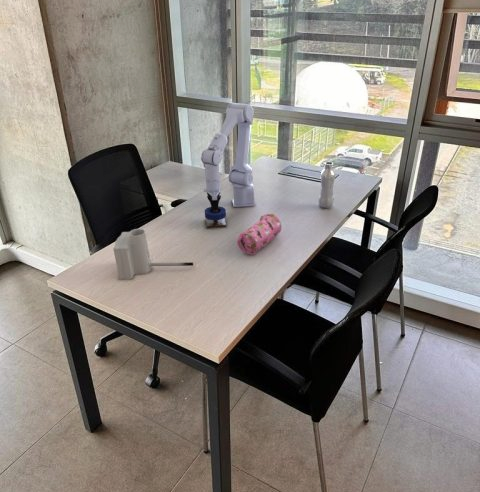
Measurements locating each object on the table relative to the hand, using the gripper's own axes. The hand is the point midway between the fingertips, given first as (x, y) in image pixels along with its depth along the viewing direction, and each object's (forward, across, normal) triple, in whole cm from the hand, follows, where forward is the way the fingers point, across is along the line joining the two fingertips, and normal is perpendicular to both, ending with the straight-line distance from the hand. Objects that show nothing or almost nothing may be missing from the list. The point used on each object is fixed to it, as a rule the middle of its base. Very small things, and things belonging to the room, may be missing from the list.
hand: (214, 209), depth 193 cm
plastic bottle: (+5, -6, +50) cm, 51 cm away
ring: (+2, +3, 0) cm, 4 cm away
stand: (+5, +3, 0) cm, 6 cm away
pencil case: (+5, +24, +16) cm, 30 cm away
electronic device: (+5, +37, -23) cm, 44 cm away
